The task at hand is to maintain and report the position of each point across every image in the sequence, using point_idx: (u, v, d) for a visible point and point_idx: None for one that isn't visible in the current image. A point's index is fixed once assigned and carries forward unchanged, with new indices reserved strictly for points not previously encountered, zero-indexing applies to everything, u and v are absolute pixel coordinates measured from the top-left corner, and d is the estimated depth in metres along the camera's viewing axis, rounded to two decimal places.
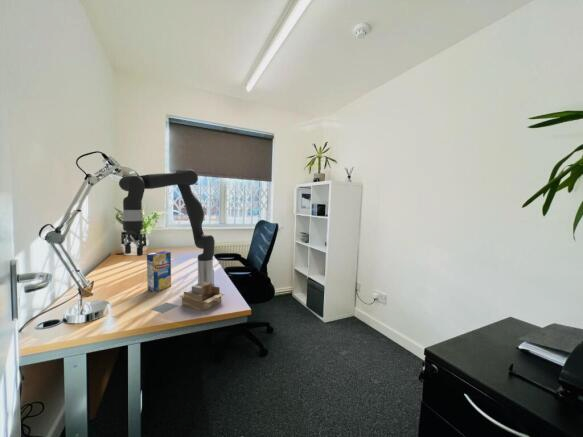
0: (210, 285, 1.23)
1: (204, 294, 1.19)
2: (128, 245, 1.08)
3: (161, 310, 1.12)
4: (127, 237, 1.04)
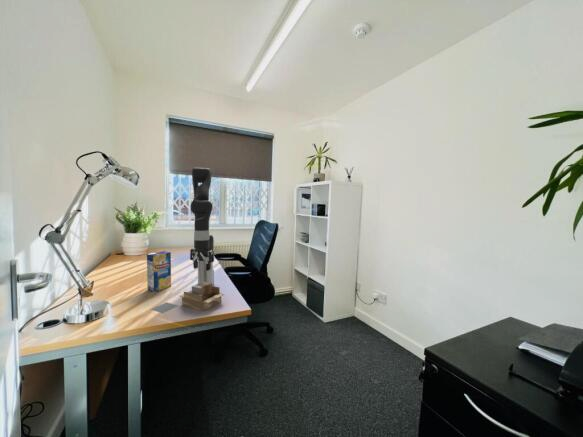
0: (210, 285, 1.23)
1: (204, 294, 1.19)
2: (196, 261, 1.22)
3: (161, 310, 1.12)
4: (197, 254, 1.19)
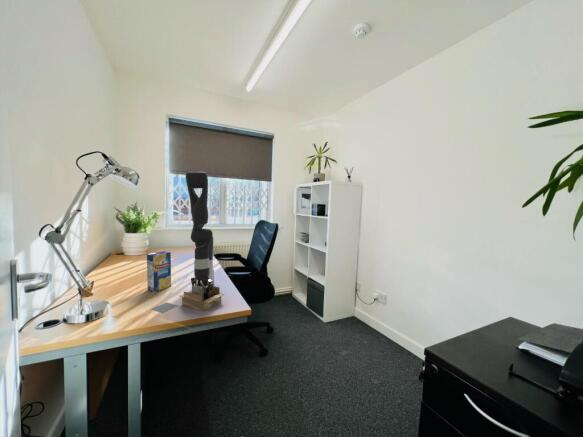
0: None
1: None
2: None
3: (161, 310, 1.12)
4: (197, 282, 1.19)
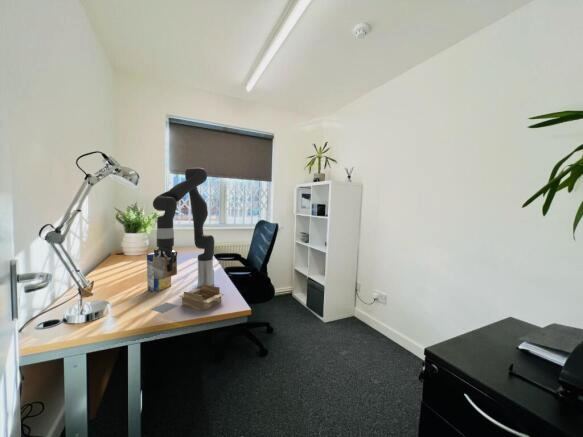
0: None
1: None
2: None
3: (161, 310, 1.12)
4: (160, 253, 1.13)
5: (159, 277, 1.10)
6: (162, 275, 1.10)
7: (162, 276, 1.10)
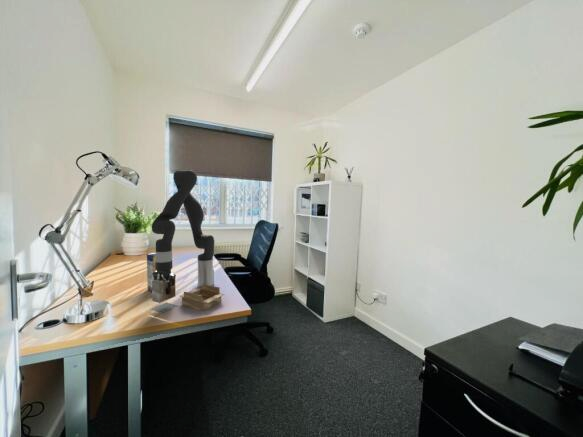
0: None
1: None
2: None
3: (161, 310, 1.12)
4: (159, 276, 1.13)
5: (157, 300, 1.10)
6: (160, 298, 1.11)
7: (160, 299, 1.11)
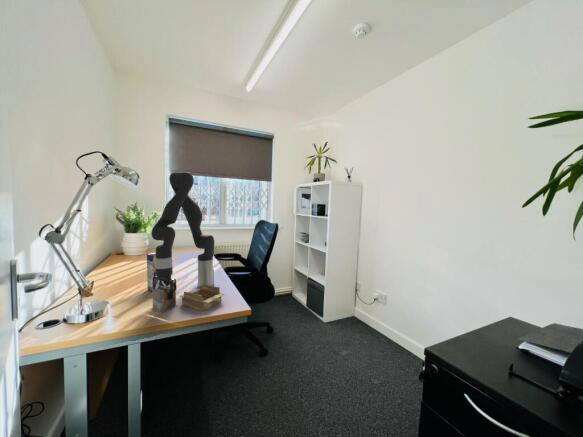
0: (173, 288, 1.17)
1: (166, 298, 1.14)
2: None
3: None
4: (159, 282, 1.14)
5: (158, 310, 1.11)
6: (161, 308, 1.11)
7: (161, 309, 1.11)
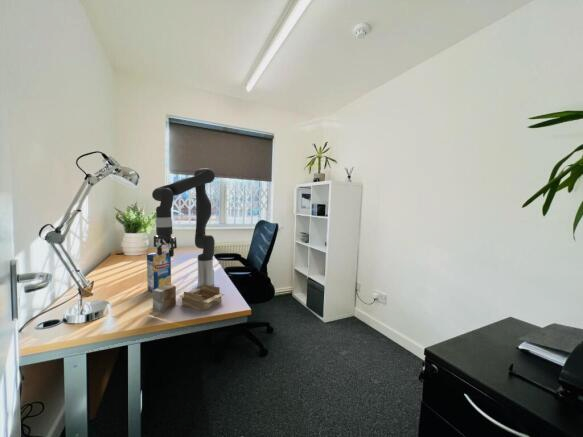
0: (173, 288, 1.17)
1: (166, 298, 1.14)
2: (160, 248, 1.24)
3: None
4: (160, 241, 1.21)
5: (158, 310, 1.11)
6: (161, 308, 1.11)
7: (161, 309, 1.11)
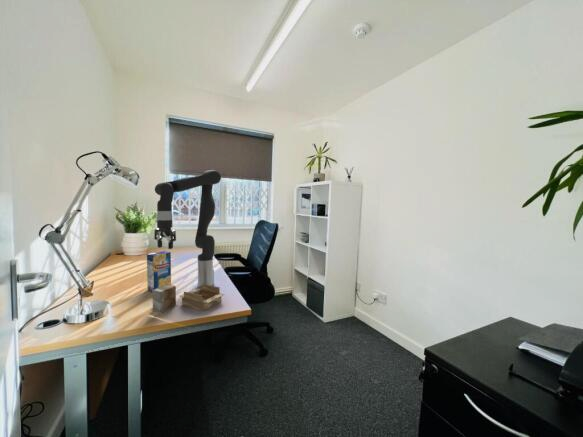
0: (173, 288, 1.17)
1: (166, 298, 1.14)
2: (160, 240, 1.29)
3: None
4: (160, 233, 1.26)
5: (158, 310, 1.11)
6: (161, 308, 1.11)
7: (161, 309, 1.11)
